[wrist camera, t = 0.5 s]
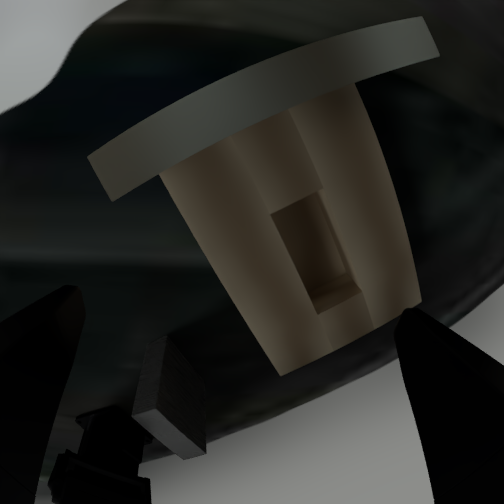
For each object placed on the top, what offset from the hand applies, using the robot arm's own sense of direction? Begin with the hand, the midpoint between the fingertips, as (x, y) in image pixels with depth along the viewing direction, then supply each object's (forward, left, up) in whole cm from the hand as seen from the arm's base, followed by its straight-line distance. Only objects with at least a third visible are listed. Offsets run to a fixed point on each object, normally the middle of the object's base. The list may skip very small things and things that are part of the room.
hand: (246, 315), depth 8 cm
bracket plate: (-10, -10, -14) cm, 20 cm away
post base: (+4, -3, -14) cm, 15 cm away
